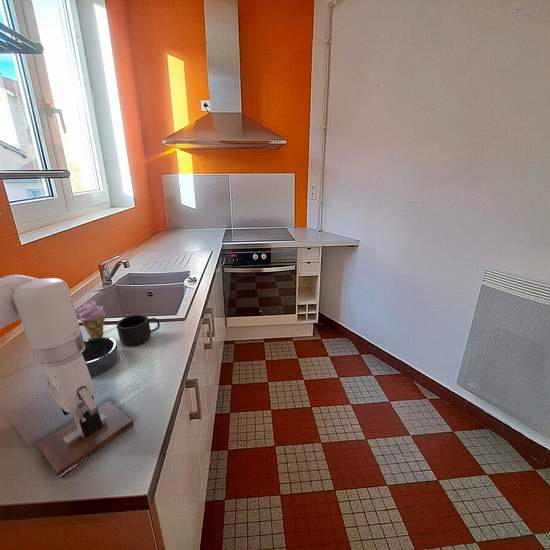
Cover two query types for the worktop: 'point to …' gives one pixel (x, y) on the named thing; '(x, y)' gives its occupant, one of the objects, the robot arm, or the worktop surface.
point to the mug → (135, 329)
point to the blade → (79, 430)
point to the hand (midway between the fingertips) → (82, 420)
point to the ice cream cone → (92, 318)
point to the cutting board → (83, 439)
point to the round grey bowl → (100, 355)
